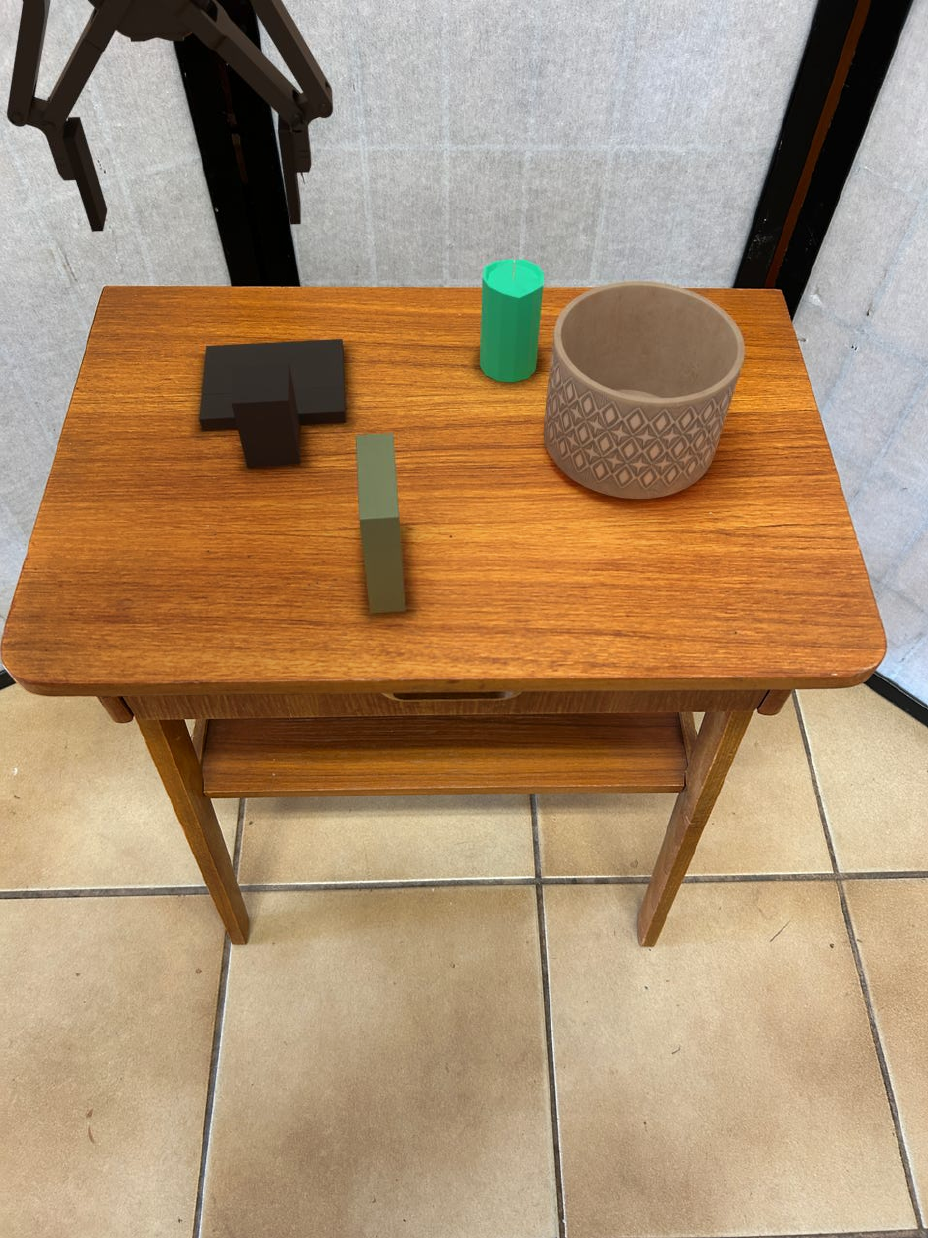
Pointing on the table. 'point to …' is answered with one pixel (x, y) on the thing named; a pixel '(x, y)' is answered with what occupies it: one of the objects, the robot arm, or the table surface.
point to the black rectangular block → (266, 415)
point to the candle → (510, 319)
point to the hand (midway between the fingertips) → (198, 217)
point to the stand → (380, 522)
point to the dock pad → (311, 373)
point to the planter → (640, 387)
